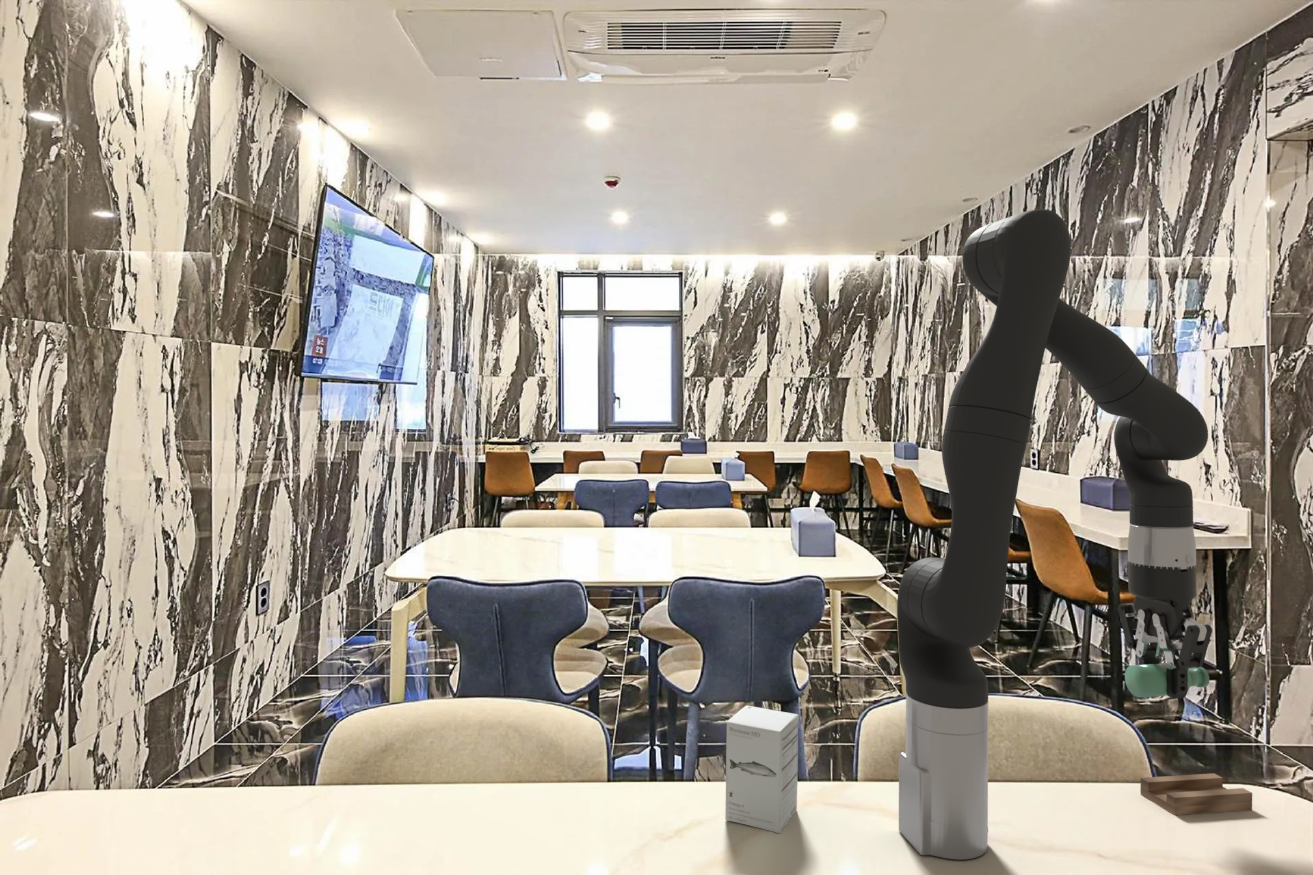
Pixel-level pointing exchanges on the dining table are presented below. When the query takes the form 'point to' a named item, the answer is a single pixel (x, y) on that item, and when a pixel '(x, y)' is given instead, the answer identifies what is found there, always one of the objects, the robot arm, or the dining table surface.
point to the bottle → (1158, 679)
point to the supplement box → (761, 768)
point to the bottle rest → (1195, 794)
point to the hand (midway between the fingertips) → (1163, 690)
